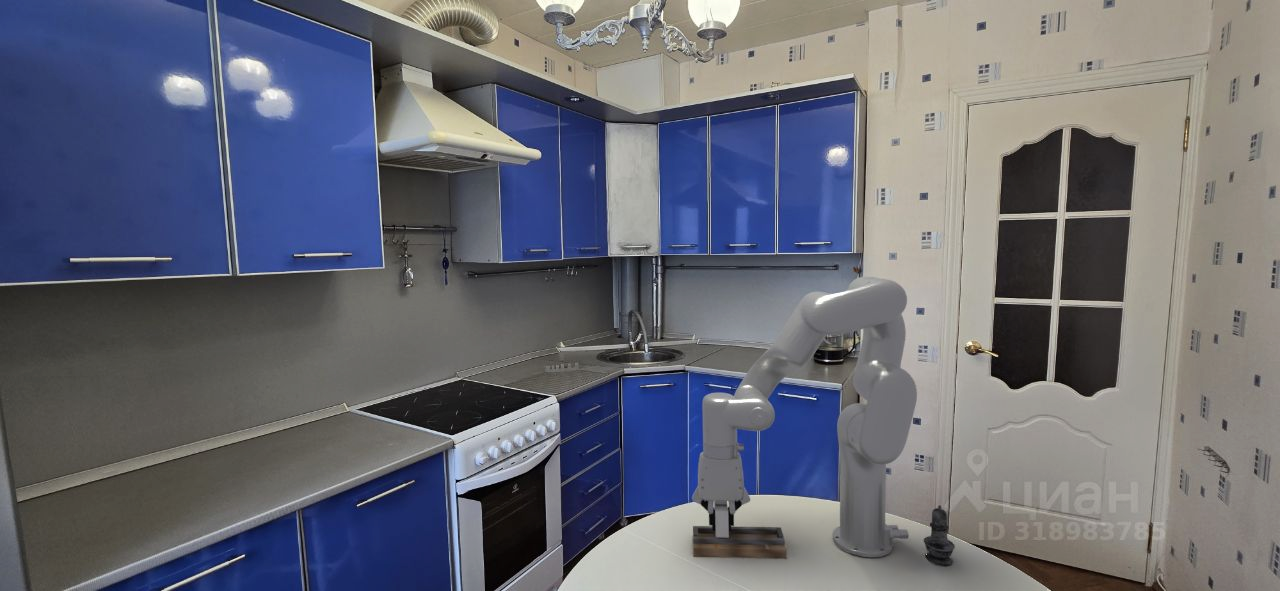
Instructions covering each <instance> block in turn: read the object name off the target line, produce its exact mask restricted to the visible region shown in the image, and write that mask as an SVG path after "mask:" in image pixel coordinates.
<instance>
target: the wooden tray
mask: <svg viewBox="0 0 1280 591" xmlns="http://www.w3.org/2000/svg"><path fill="white" fill-rule="evenodd" d="M692 546H693V549H692V550H693V551H692V552H693V553H692V554H693V555H692V556H693V557H695V558H733V559H734V558H740V559H742V558H743V559H744V558H746V559H785V560H786V559H787V547H786V539H785V536H784V533H783V529H782V527H780V526H778V527H777V526H776V527H775V526H774V527H773V526H731V531H729V538H727V537H715V531H713V530H712V526H709V525H692Z"/></svg>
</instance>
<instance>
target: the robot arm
mask: <svg viewBox="0 0 1280 591" xmlns="http://www.w3.org/2000/svg"><path fill="white" fill-rule="evenodd" d="M907 305H908V296H907V293H906V291H905V289H904V287H902V285H900V284H899V283H898V282H896V281H894V280H892V279H888V278H887V279H886V278H879V277H874V276H861V277H857V278H855V279H854V280H852V282H850V284H849V286H848V288H847V289H846V290H845V291H840V292H835V293H829V292H826V291H825V292H824V291H820V290H819V291H812V292H808V293H807V294H806V295H805V296H803V298H802V299H801V300H800V301H799V303H798V304H797V306H795V308H794V311H793V312H792V314H791V315H790V317H789V318H788V320H787V321H786V323H785V325H784V326H783V328H782V329H781V331H780V332H779V334H778V335H777V337H776V338H775V339H774V342H773V343H772V344H771V346H770V347H769V348H767V350H766V351H764V352H763V354H762V355H760V357H759V358H758V359H757V360H756V361H755V362H754V363H753V364H752V366H751V367H750V369H749V370H748V371H747V372H746V374H745V376H744V377H743V379H742V380H741V382H740V383H739V385H738V386H737V389H736V390H735V392H734V395H733V394H730V393H726V392H711V393H708V394H706V395H705V396H703V398H702V408H701V409H702V450H703V451H702V452H700V453H699V458H698V465H697V466H698V467H697V485H696V486H697V487H696V488H695V489H694V492H693V494H692V496H691V497H692V498H691V500H692V502H694V503H696V504H698V505H701V507H703V509H705V510H706V512H707V513H708V526H712V530H713V531H716V527H715V509H714V501H727V502H728V524H729V531H731V527H735V513H736V511H738V510H739V508H741V507H742V506H743V505H745V504H748V503H750V502H751V497H750V495H749V493H748V491H747V489H746V488H745V483H744V469H743V463H742V462H743V460H742V457H741V453H740V451H744V450H745V445H744V443H739V442H738V430H744V431H751V432H761V431H765V430H766V429H769V428H770V427H771V426H772V425H773V423H774V421H775V417H776V414H775V409H774V406H773V405H772V404H771V402H770V401H769V400H768V399H769V398H770V396H771V395H772V394H773V392H774V391H775V388H776V387H777V386H779V384H780V383H781V382H782V381H783V380H784V379H785V378H786V377H788V376H790V375H791V374H794V373H796V372H800V371H801V370H803V369H805V368H806V367H807V366H808V364H809V363H810V362H811V359H812V358H813V356H814V355H815V353H816V351H817V350H818V349H819V347H820V345H821V344H822V343H823V341H824V340H825V338H826V337H827V336H831V337H832V336H839V335H845V334H849V333H852V332H858V331H861V330H862V340H861V346H860V350H859V354H858V358H857V361H856V366H855V370H854V373H853V378H852V379H853V380H852V385H853V388H854V390H855V392H856V393H857V394H858V395H859V396H860V397H862V398H863V399H864V400H866V403H860V402H857V403H852V404H849V405H848V406H845V408H844V409H842V410H841V412H840V414H839V416H838V418H837V426H836V428H837V429H836V430H837V432H836V433H837V439H838V441H837V442H838V446H839V447H838V448H839V449H838V450H839V466H840V467H839V469H840V470H839V526H838V527H836V528H834V530H833V531H832V539H833V540H832V541H833V543H834V544H835V545H836V546H837V547H838V548H839V549H841V550H842V551H844V552H846V553H849V554H850V555H853V556H858V557H863V558H880V557H881V558H882V557H884V556H886V555H889V554H890V553H891V552H892V551H893V549H894V548H893V546H894V543H893V540H895V539H899V540H900V539H902V540H903V539H906V540H909V535H910V534H909V531H908V529H906V528H905V529H899V526H898V525H897V524H887V523H886V506H887V505H886V496H887V495H886V492H887V491H886V488H887V465H888V464H891V463H892V462H894V461H896V460H897V459H898V458H899V457H900V456H901V454H903V451H904V449H905V446H906V444H907V441H908V436H909V433H910V429H911V424H912V421H913V417H914V414H915V410H916V404H917V399H918V391H917V390H918V389H917V385H916V382H915V380H914V378H913V377H912V376H911V375H910V373H909V372H908V371H906V370H905V369H903V368H902V367H901V365H902V359H903V355H904V348H905V344H906V336H907V335H906V324H905V320H904V317H903V315H902V314H903V313H904V311H905V310H906V307H907Z"/></svg>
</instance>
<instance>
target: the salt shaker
mask: <svg viewBox="0 0 1280 591" xmlns="http://www.w3.org/2000/svg"><path fill="white" fill-rule="evenodd" d="M929 525H930V527H931V529H930V531H931V532H930V533H931V534H930V536H929V535H928V536H926V537H925V538H923V543H924V546H925V549H926V550H927V552H926V553H927V555H926V553H925V554H924V559H925V558H926V559H927V560H928V561H929V563H930V562H931V564H932V563H933V565H934V564H935V565H934V566H938V565H940V566H939V567H950V566H952V565H953V564H954V561H953V559H952V558H951V556H952V554H953V553H954V552H953V551H954V550H955V549H956V546H955V544H954V542H953V541H951V540H950V539H948V531H949V529H950V527H949V525H948V513H947V511H946V510H944V508H942V506H941V504H939V505H937V508H936V507H935V508H934V509H932V513H931V522H930V523H929ZM926 559H925V560H926ZM927 560H926V561H927ZM928 561H927V562H928ZM952 563H953V564H952ZM951 564H952V565H951ZM949 565H950V566H949Z"/></svg>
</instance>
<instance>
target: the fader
mask: <svg viewBox="0 0 1280 591" xmlns="http://www.w3.org/2000/svg"><path fill="white" fill-rule="evenodd" d="M713 507H714V509H715V527H716V531H715V537H727V538H729V524H728V507H729V505H728V501H714V506H713Z"/></svg>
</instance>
